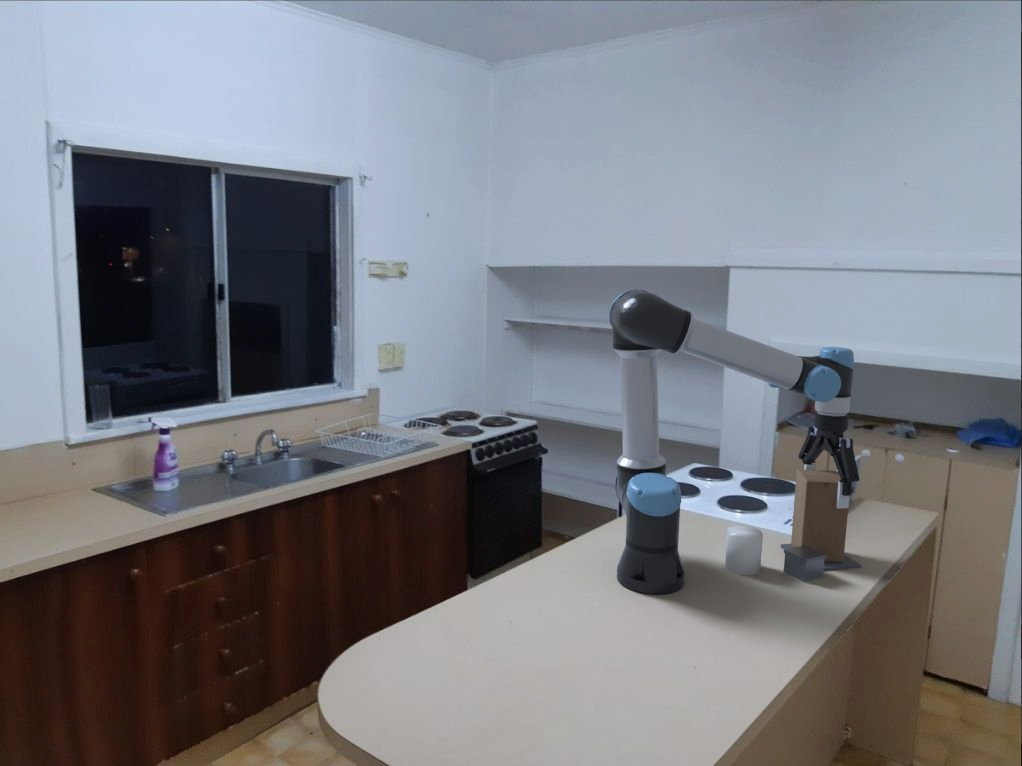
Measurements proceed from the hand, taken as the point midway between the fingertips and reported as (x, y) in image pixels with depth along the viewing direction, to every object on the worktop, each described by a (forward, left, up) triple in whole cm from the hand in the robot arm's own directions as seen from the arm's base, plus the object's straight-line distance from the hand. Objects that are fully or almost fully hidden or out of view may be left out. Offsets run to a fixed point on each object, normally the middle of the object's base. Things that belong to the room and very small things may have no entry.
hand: (824, 498), depth 179 cm
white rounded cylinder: (-22, -2, -15) cm, 27 cm away
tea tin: (-10, -8, -15) cm, 20 cm away
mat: (0, 0, -15) cm, 15 cm away
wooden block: (-1, 0, -14) cm, 15 cm away
